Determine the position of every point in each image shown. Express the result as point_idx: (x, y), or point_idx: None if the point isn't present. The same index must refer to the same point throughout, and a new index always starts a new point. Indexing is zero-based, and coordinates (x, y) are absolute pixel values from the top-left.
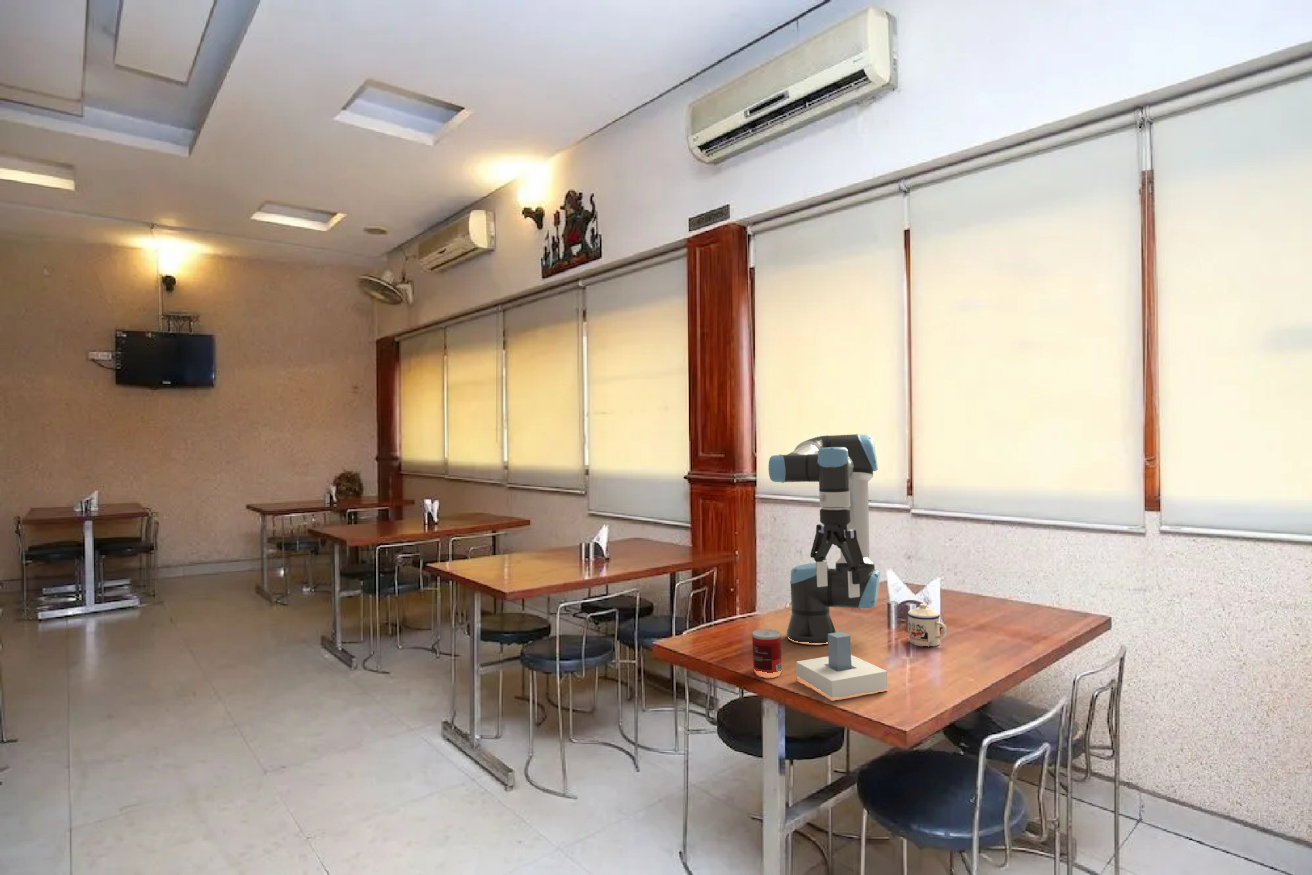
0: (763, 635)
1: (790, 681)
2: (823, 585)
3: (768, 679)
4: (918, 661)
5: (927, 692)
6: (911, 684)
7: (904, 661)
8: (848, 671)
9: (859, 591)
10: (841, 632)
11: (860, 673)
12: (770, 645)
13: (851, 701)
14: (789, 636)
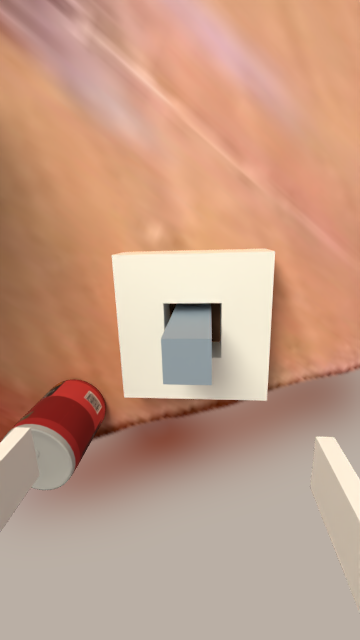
0: (44, 467)
1: None
2: (32, 454)
3: (108, 416)
4: (120, 14)
5: (315, 165)
6: (256, 165)
7: (107, 58)
8: (231, 335)
9: (346, 459)
10: (168, 341)
11: (257, 320)
12: (81, 455)
13: (274, 347)
14: None
